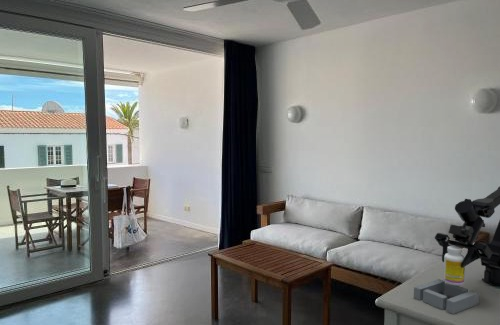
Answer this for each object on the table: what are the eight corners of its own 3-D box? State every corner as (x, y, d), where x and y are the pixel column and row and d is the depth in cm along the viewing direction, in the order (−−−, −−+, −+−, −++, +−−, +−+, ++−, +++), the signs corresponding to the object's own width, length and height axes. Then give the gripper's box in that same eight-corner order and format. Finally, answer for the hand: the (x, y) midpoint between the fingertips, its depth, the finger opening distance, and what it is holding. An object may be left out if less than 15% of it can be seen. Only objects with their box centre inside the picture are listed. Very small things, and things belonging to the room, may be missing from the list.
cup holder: (438, 289, 150) (439, 279, 149) (478, 304, 137) (478, 292, 136) (413, 297, 142) (414, 287, 142) (453, 314, 129) (453, 302, 129)
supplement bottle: (466, 286, 137) (468, 251, 136) (446, 285, 139) (447, 250, 138) (460, 279, 144) (461, 245, 143) (441, 278, 145) (442, 244, 144)
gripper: (438, 211, 149) (419, 245, 144) (488, 221, 133) (469, 259, 129) (449, 229, 154) (431, 261, 149) (499, 240, 138) (481, 277, 133)
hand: (451, 264), depth 140 cm, fingers closed on supplement bottle, 7 cm apart
